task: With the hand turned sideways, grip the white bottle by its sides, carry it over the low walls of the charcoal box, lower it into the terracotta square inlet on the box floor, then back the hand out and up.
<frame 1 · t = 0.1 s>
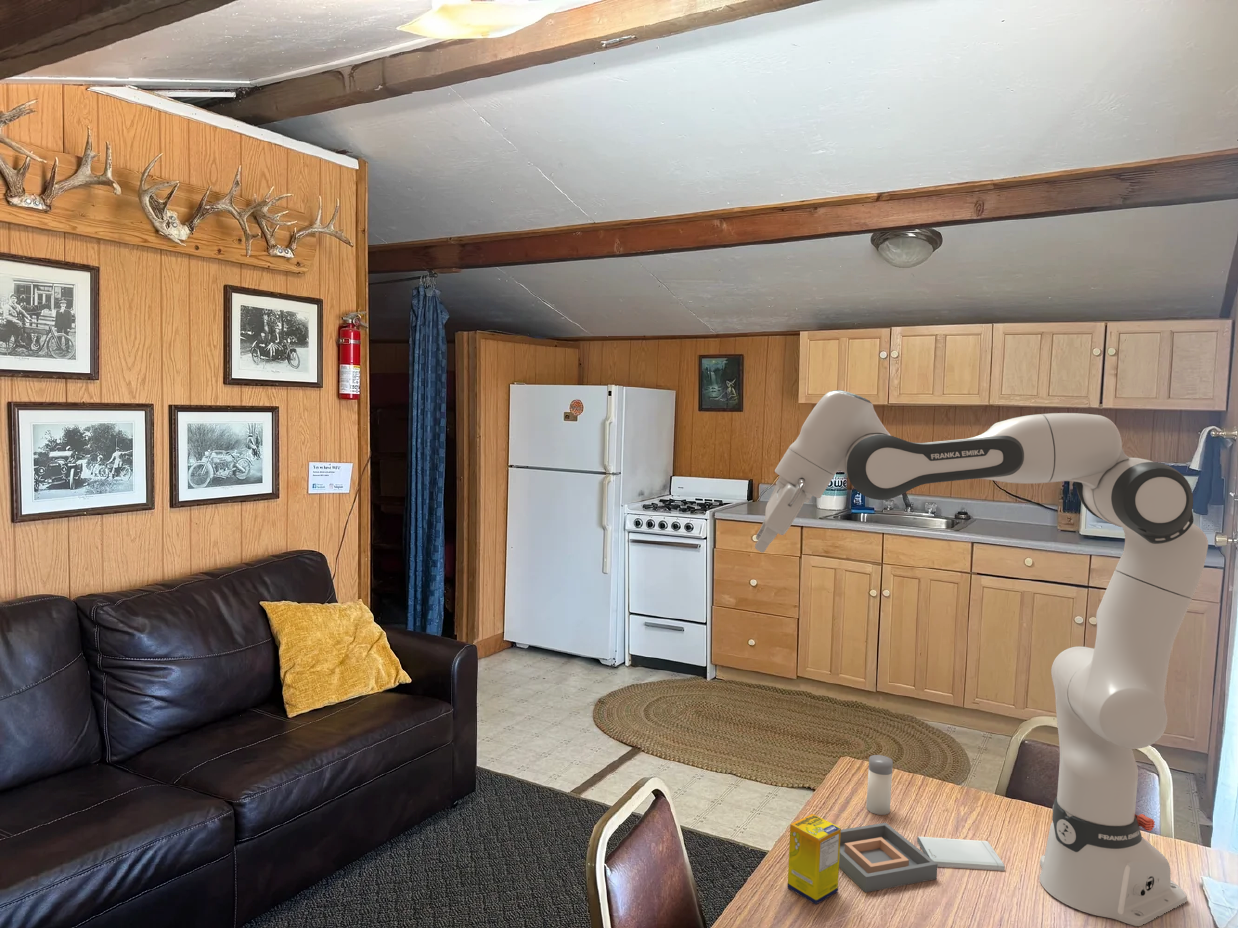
hand: (759, 545, 143), 54 cm above the table, tool tilted 30°, fingers open, 8 cm apart
supplement box: (812, 891, 136), on the table
white bottle: (878, 809, 163), on the table
hard drive: (959, 859, 148), on the table
walled box: (875, 862, 144), on the table
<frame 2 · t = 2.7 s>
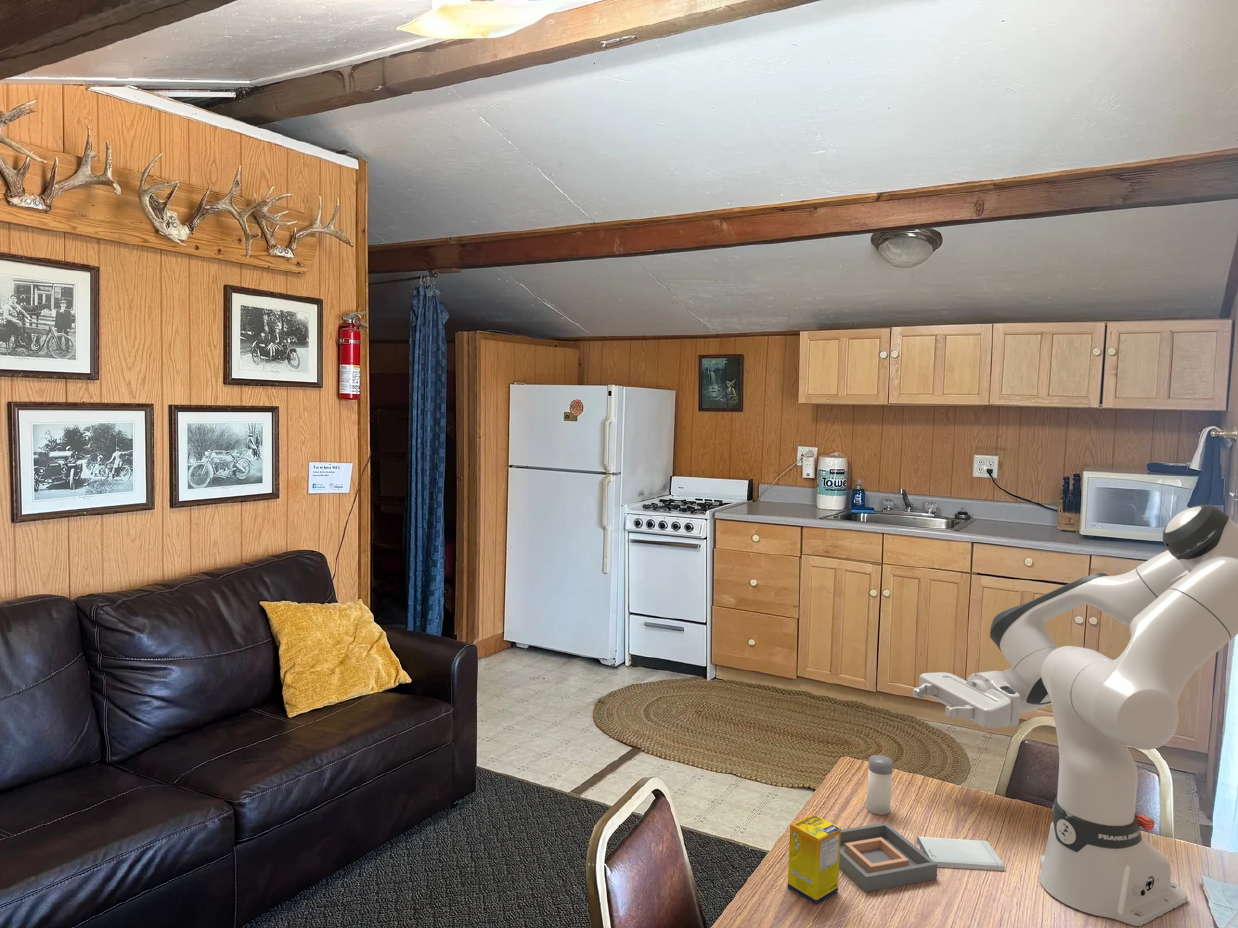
hand: (930, 702, 165), 20 cm above the table, tool horizontal, fingers open, 8 cm apart
nothing on the table moved.
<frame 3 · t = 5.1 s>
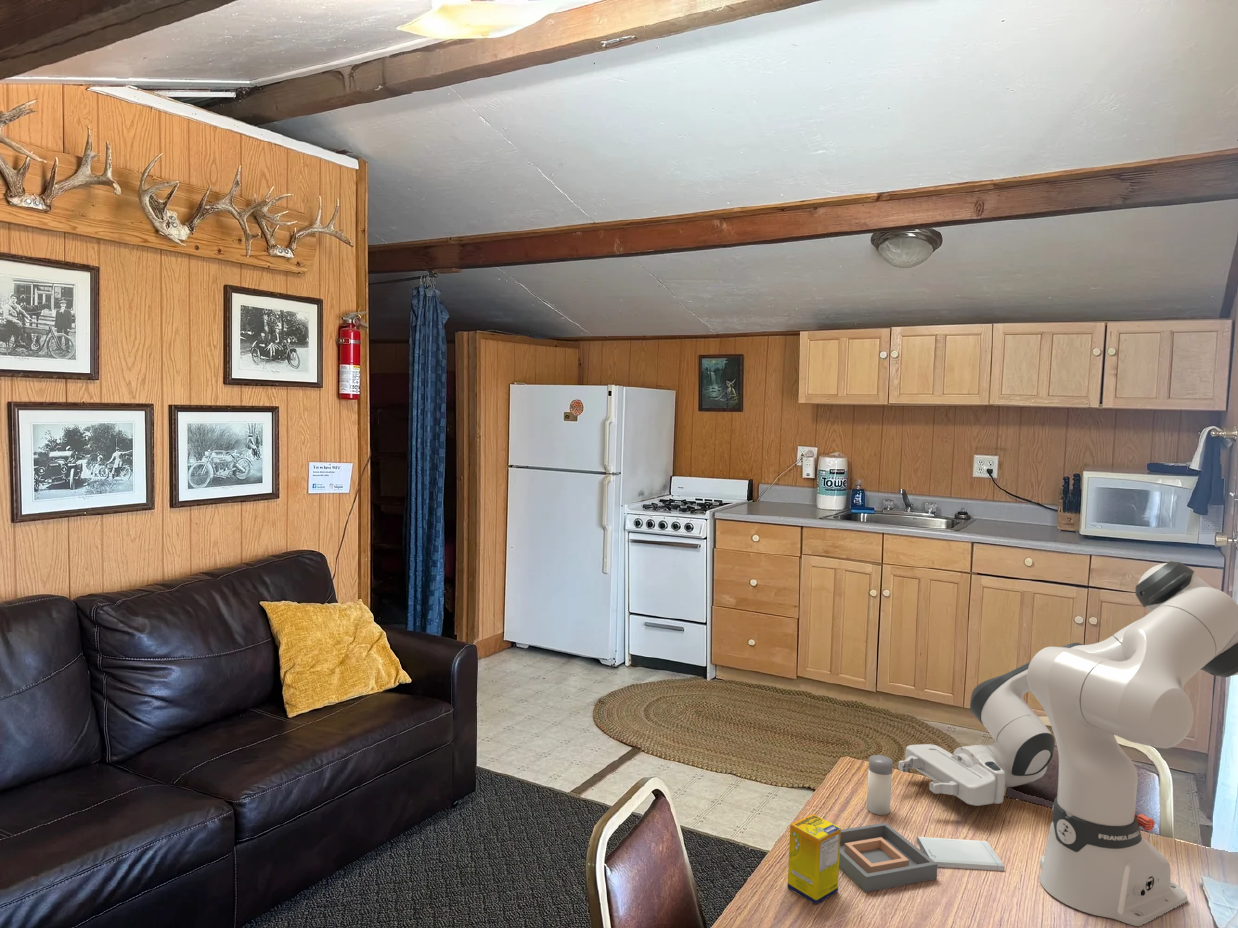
hand: (915, 777, 165), 5 cm above the table, tool horizontal, fingers open, 8 cm apart
nothing on the table moved.
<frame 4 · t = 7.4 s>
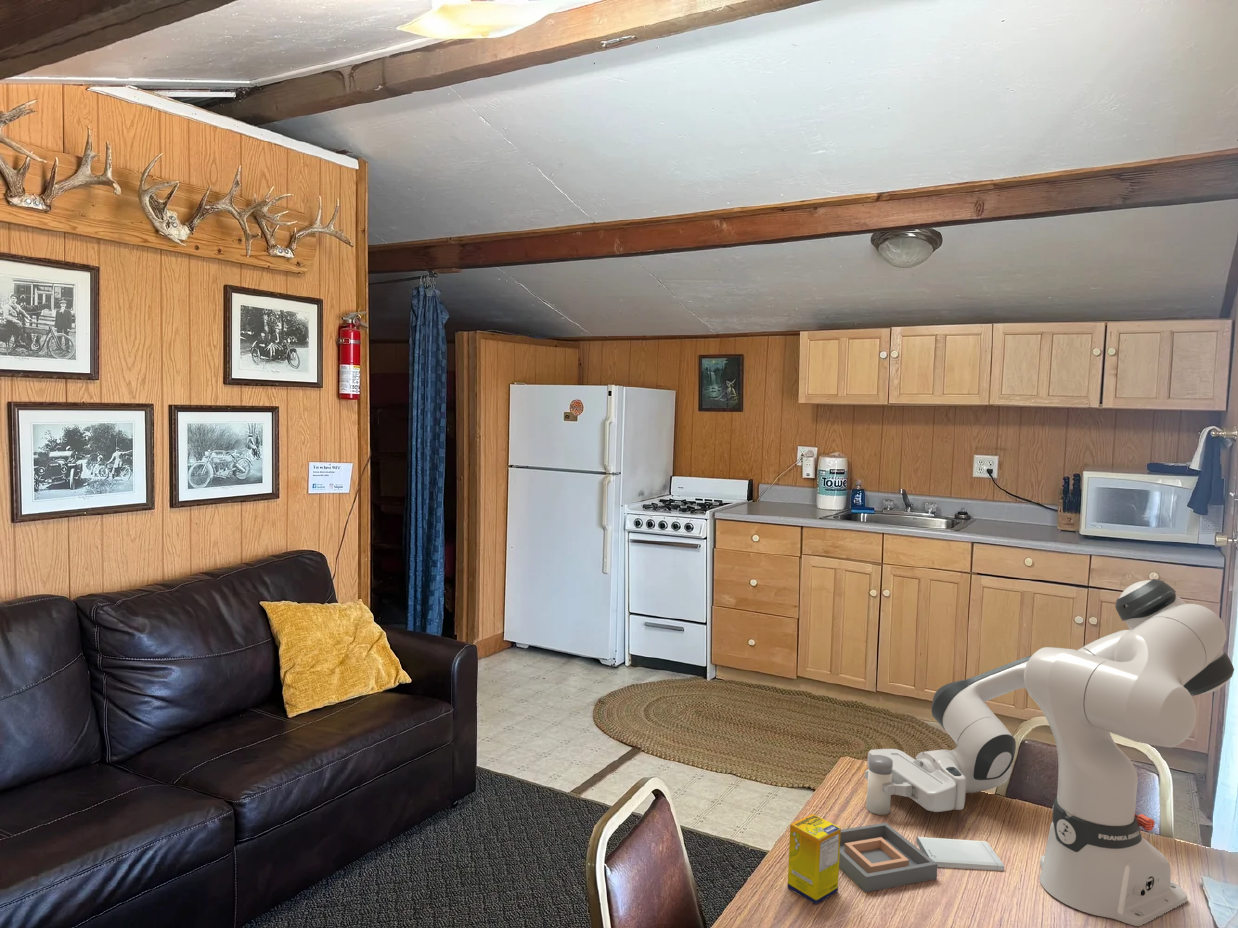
hand: (875, 782, 162), 6 cm above the table, tool horizontal, fingers closed on white bottle, 4 cm apart
white bottle: (878, 809, 163), on the table, touching gripper
everything else where it was.
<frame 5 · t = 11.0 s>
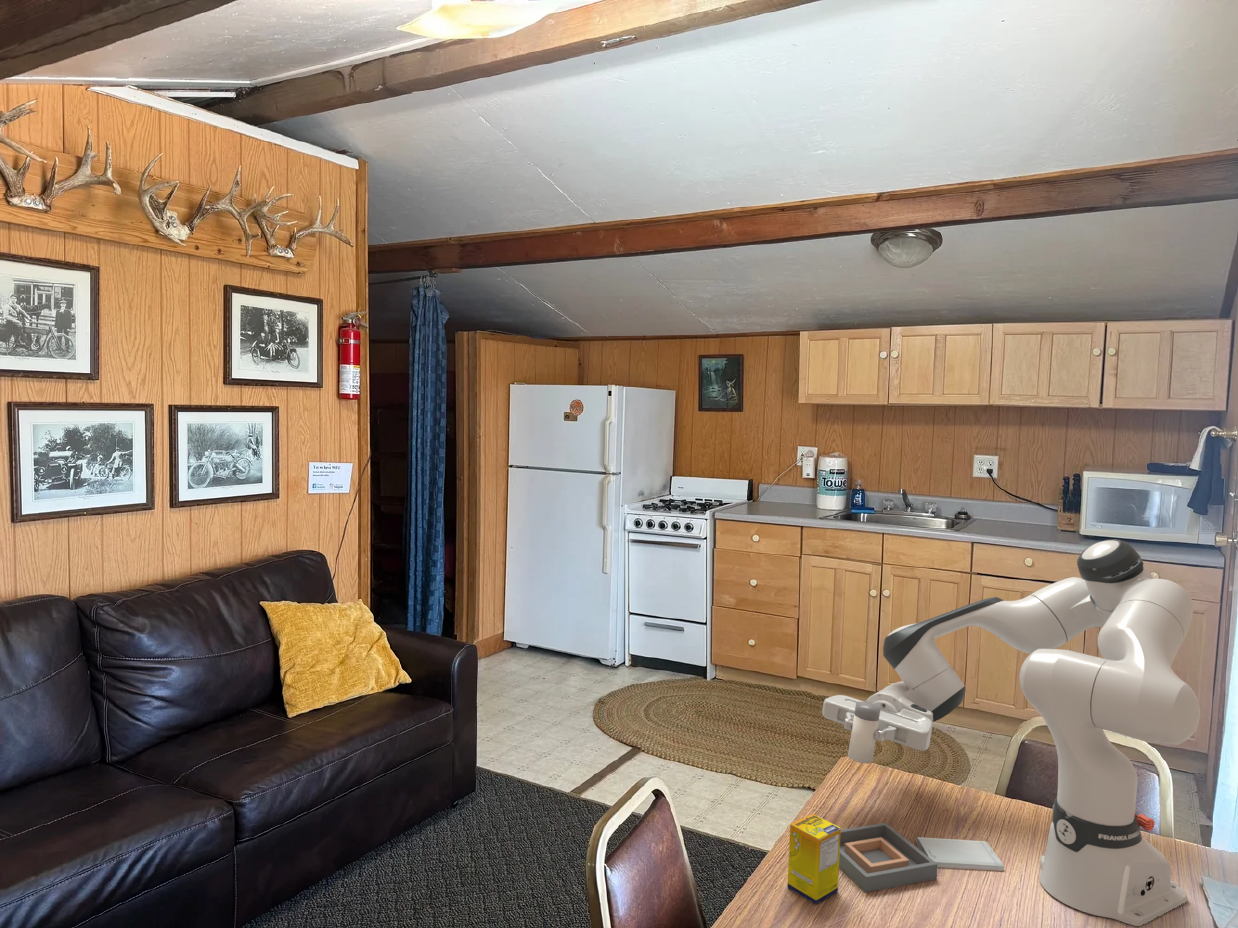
hand: (862, 730, 154), 19 cm above the table, tool horizontal, fingers closed on white bottle, 4 cm apart
white bottle: (859, 758, 155), point 13 cm above the table, tilted 6°, touching gripper
everything else where it was.
when the fingers open (7 cm above the table, at t = 14.7 s): white bottle drops 1 cm, resting on walled box.
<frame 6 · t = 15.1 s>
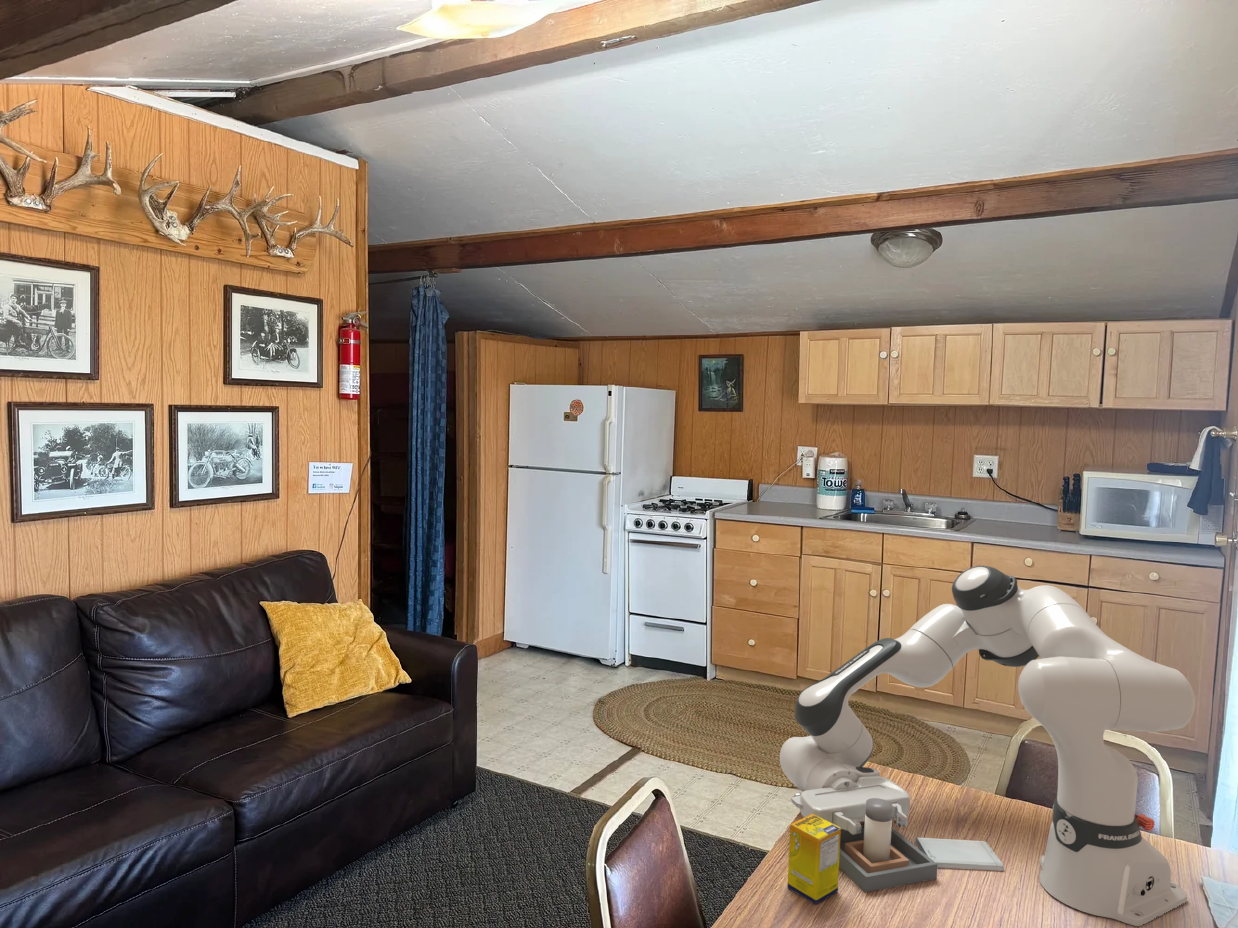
hand: (881, 826, 143), 7 cm above the table, tool horizontal, fingers open, 8 cm apart
white bottle: (876, 860, 144), point 1 cm above the table, touching walled box
everything else where it was.
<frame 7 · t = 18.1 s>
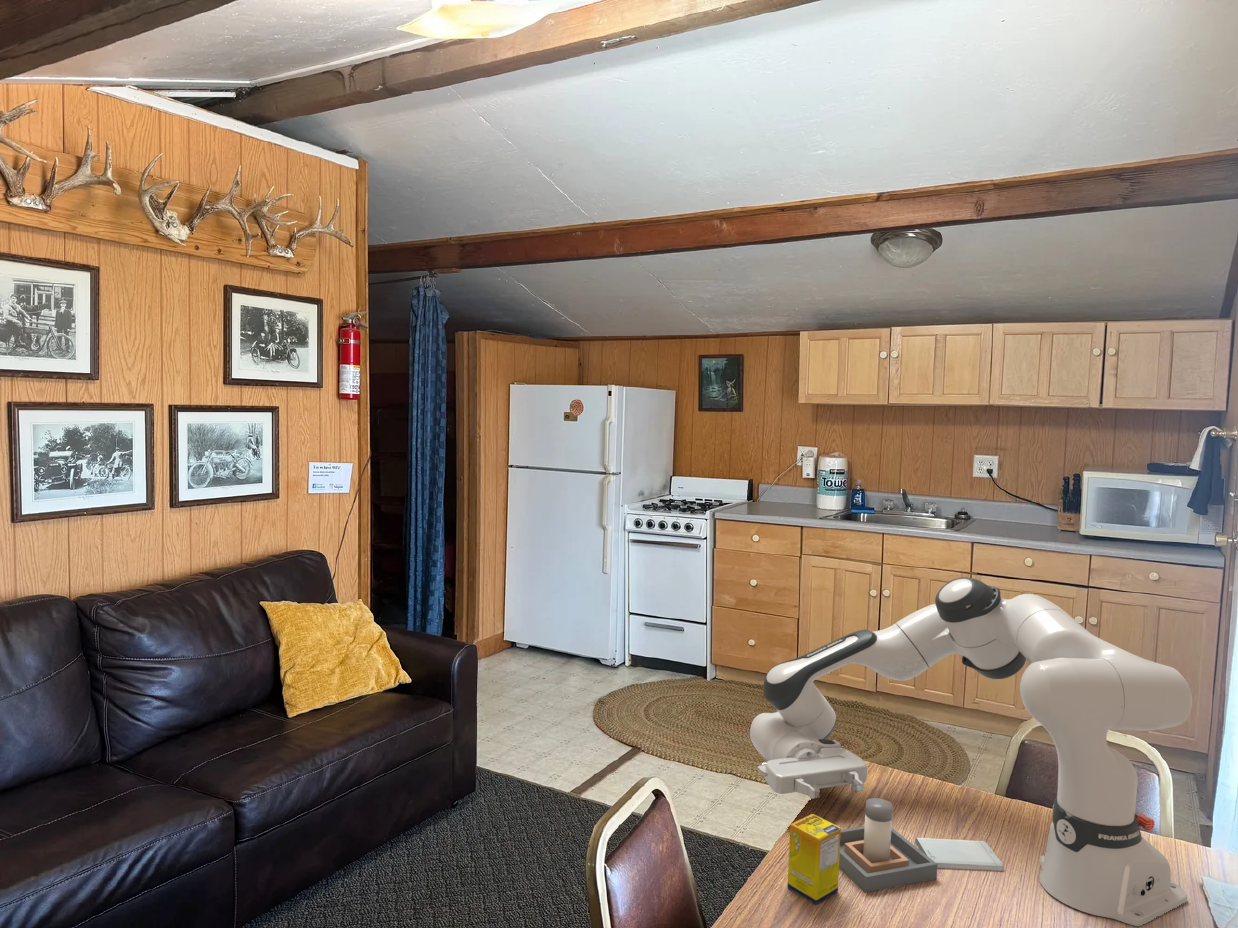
hand: (838, 791, 155), 7 cm above the table, tool horizontal, fingers open, 8 cm apart
nothing on the table moved.
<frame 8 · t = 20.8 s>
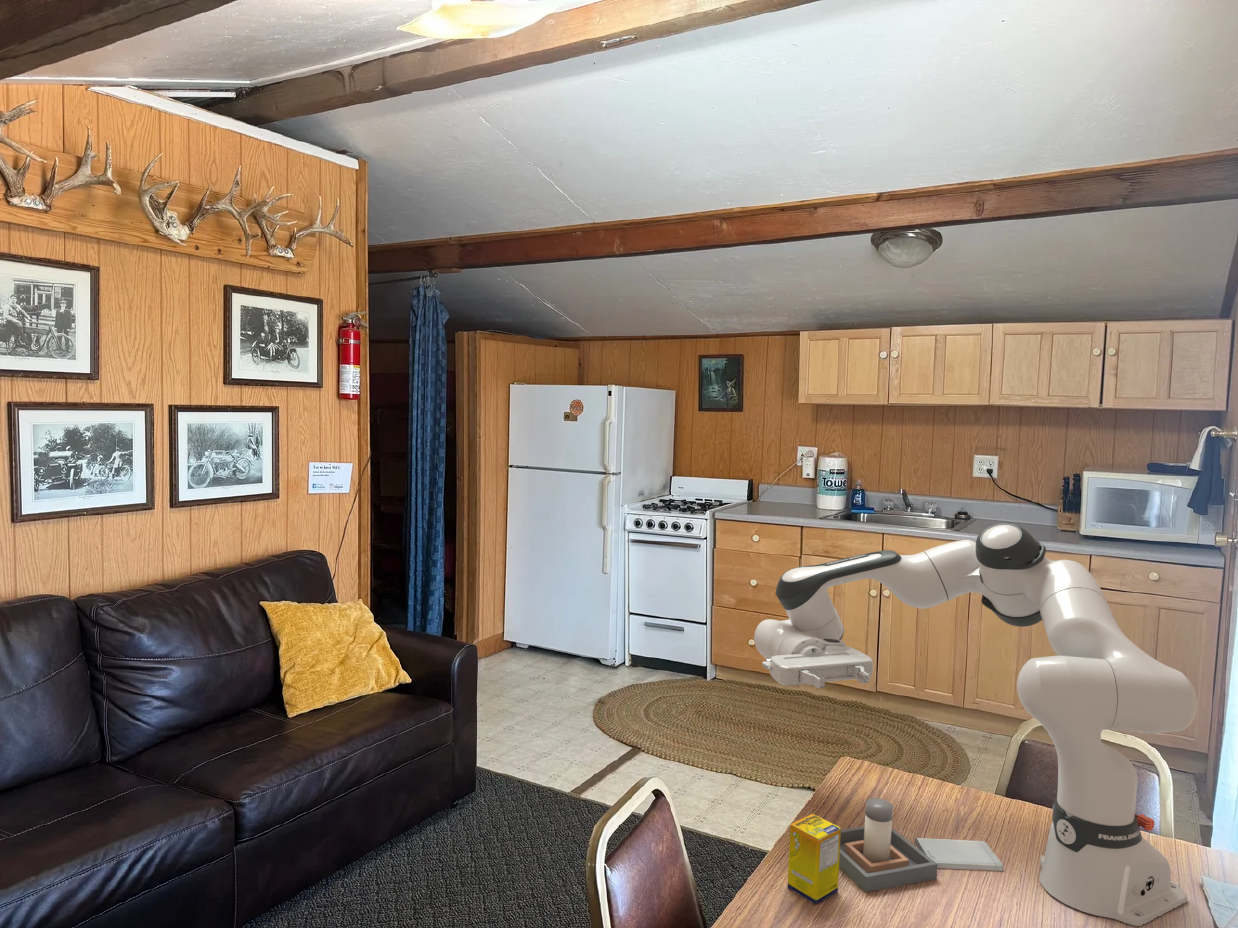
hand: (844, 681, 153), 28 cm above the table, tool horizontal, fingers open, 8 cm apart
nothing on the table moved.
at the end: white bottle 0.1 cm off-centre on the walled box, point 0.5 cm above the walled box's base; white bottle tilted 0°; the gripper is holding nothing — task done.
